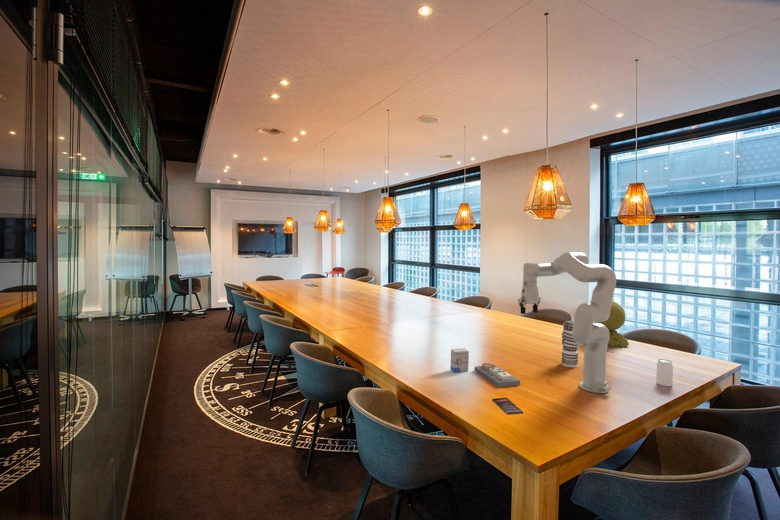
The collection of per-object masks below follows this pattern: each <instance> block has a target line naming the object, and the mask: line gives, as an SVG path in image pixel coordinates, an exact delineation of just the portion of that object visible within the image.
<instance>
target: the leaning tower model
mask: <svg viewBox="0 0 780 520" xmlns="http://www.w3.org/2000/svg"><path fill="white" fill-rule="evenodd" d="M573 324H574V320H566V321H564V323H562V325H563V329H562V333H561V341H562V342H561V345H562V351H561V365H562V366H564V367H566V368H567V367H568V368H578V366H579V365H578V364H579V352H578V347H579V344H577V343H576V342H575V341H574V339H573V335H572V331H573Z"/></svg>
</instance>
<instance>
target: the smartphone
mask: <svg viewBox="0 0 780 520" xmlns="http://www.w3.org/2000/svg"><path fill="white" fill-rule="evenodd" d="M491 400H492V401H493V403H495V404H496V405H497V407H499V408H500V409H501V410H502V411H503V412H504V413H505V414H506V415H508V416H509V415H510V416H511V415H520V414H521V415H523V414H524V411H522V409H521V408H519V407H518V406H517V405H516V404H514V403H513V402H512V400H510V399H509V398H508V397H499V398H498V397H496V398H492V399H491Z"/></svg>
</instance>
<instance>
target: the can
mask: <svg viewBox="0 0 780 520" xmlns="http://www.w3.org/2000/svg"><path fill="white" fill-rule="evenodd" d="M673 374H674V365H673V361H672V360H669V359H665V358H659V359H657V363H656V374H655V375H656V377H655V380H656V381H655V382H656V384H657V385H659V386H661V387H666V388H671V387H672V386H673V379H674V378H673V376H674V375H673Z"/></svg>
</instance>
